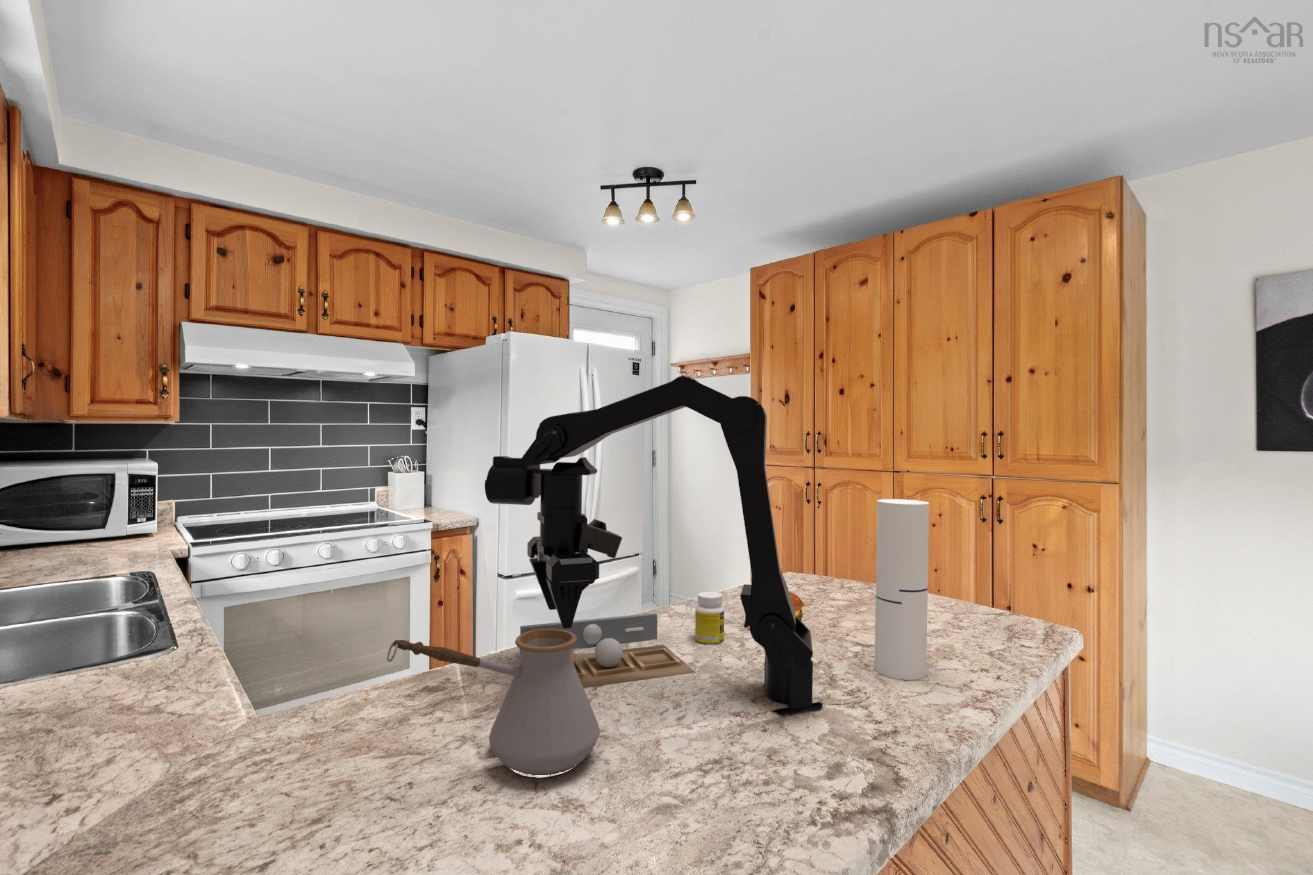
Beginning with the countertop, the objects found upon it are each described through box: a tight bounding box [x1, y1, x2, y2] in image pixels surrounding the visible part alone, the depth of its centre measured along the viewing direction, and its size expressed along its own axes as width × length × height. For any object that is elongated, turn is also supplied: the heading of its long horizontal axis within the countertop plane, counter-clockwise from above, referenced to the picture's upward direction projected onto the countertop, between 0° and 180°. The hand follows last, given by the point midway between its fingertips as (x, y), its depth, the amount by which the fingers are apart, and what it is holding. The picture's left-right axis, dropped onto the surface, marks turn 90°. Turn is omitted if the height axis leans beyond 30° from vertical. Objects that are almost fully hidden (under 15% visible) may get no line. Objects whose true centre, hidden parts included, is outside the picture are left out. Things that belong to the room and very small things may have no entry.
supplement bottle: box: [694, 591, 725, 646], centre depth 102 cm, size 5×5×8 cm
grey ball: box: [594, 638, 623, 668], centre depth 90 cm, size 4×4×4 cm
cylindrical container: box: [874, 498, 930, 681], centre depth 93 cm, size 7×7×25 cm
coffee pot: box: [386, 629, 600, 775], centre depth 64 cm, size 21×12×15 cm, turn 120°
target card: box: [519, 612, 658, 655], centre depth 99 cm, size 1×22×5 cm, turn 112°
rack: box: [574, 644, 697, 689], centre depth 90 cm, size 12×22×2 cm, turn 111°
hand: (559, 618), depth 87 cm, fingers open, 9 cm apart
